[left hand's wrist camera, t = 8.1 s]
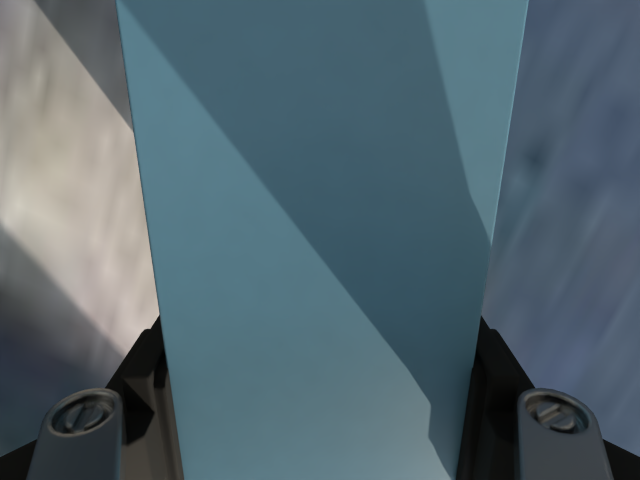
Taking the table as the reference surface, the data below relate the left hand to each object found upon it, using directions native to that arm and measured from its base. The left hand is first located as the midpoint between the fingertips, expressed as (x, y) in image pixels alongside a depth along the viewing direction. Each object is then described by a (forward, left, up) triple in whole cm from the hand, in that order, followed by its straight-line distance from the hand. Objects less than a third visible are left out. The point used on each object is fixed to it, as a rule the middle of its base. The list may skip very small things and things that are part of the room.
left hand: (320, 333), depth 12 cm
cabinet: (+1, +6, -8) cm, 10 cm away
